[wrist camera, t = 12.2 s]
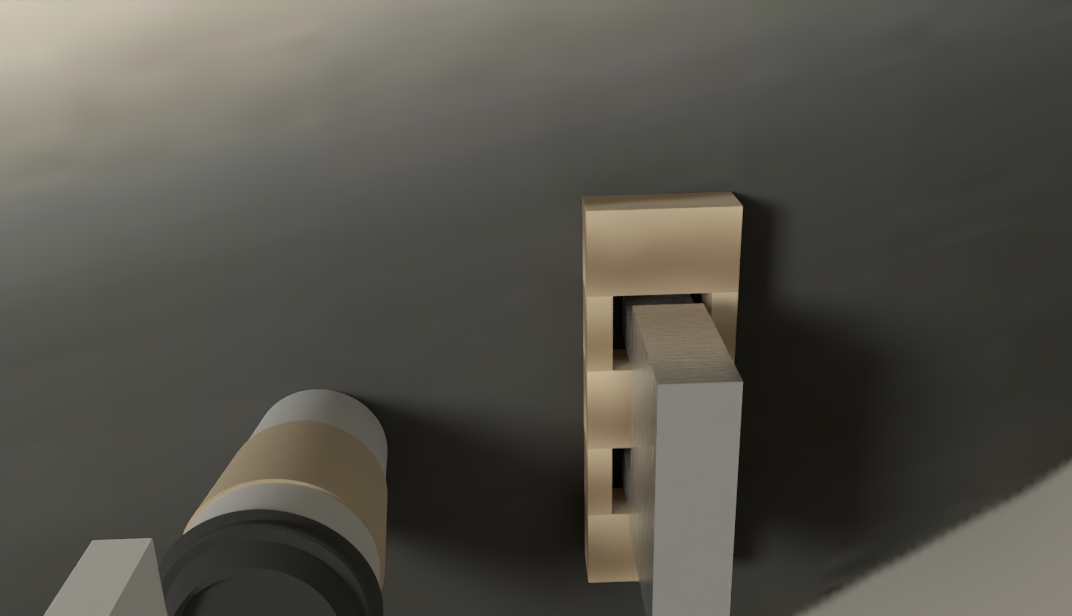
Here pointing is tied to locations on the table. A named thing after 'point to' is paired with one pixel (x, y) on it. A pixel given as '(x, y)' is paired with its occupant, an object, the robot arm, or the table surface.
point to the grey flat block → (681, 455)
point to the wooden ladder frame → (625, 270)
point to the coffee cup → (290, 519)
